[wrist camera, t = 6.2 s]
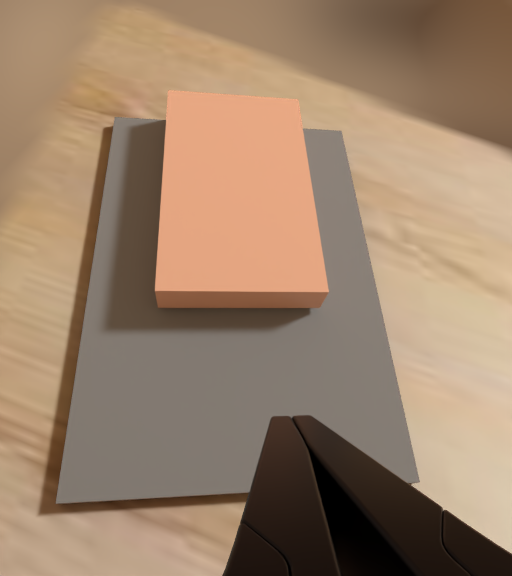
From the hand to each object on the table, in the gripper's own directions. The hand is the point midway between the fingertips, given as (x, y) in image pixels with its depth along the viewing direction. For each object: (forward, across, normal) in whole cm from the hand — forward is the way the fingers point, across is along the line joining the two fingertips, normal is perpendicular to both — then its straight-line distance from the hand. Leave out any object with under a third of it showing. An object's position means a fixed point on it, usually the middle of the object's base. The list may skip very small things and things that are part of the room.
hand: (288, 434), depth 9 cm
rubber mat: (+12, 0, -1) cm, 12 cm away
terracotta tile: (+9, 0, 0) cm, 9 cm away
